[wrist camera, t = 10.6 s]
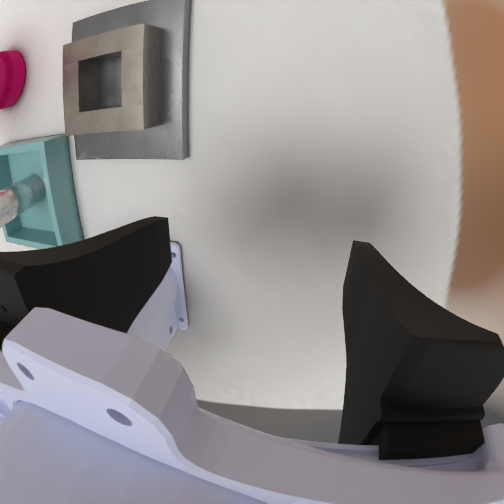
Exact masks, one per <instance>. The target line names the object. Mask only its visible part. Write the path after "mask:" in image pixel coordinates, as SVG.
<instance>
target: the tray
mask: <svg viewBox="0 0 504 504" xmlns="http://www.w3.org/2000/svg"><path fill="white" fill-rule="evenodd" d="M32 174H36V175H38V176H39V177H40V178H41V180H42V181H43V183H44V186H45V198H44V200H43V201H42V202H40V203H38V204H37V205H35V206H33V207H32V208H30V209H28V210H27V211H25V212H24V213H22V214H20V215H19V216H17V217H16V218H14V219H13V220H11V221H10V222H8V223H7V224H5V225H4V226H2V228H3V231H4V235H5V238H6V241H7V242H11V243H15V244H19V245H24V246H28V247H33V248H37V249H46V248H51V247H56V246H61V245H66V244H70V243H74V242H78V241H81V240H84V238H83V233H82V228H81V223H80V218H79V213H78V208H77V202H76V196H75V190H74V184H73V177H72V170H71V162H70V153H69V144H68V136H66V134H61V135H53V136H46V137H40V138H33V139H27V140H21V141H16V142H10V143H6V144H3V145H1V146H0V191H1V190H3V189H4V188H6V187H8V186H10V185H12V184H14V183H16V182H18V181H20V180H22V179H24V178H26V177H28V176H30V175H32Z"/></svg>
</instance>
